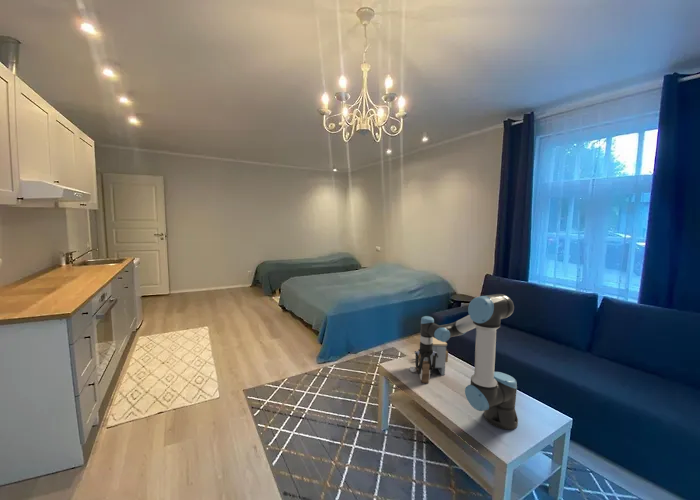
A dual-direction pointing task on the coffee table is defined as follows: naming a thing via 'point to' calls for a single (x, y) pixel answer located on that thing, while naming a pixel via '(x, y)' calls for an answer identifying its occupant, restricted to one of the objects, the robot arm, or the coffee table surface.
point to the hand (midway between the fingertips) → (424, 378)
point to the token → (413, 369)
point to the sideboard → (439, 355)
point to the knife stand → (445, 359)
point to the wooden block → (425, 372)
